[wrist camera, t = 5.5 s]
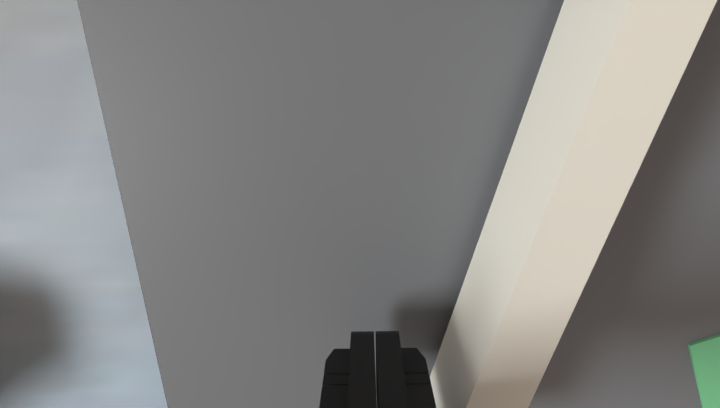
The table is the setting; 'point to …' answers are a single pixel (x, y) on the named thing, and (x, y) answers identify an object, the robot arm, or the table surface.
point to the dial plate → (381, 194)
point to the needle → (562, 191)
